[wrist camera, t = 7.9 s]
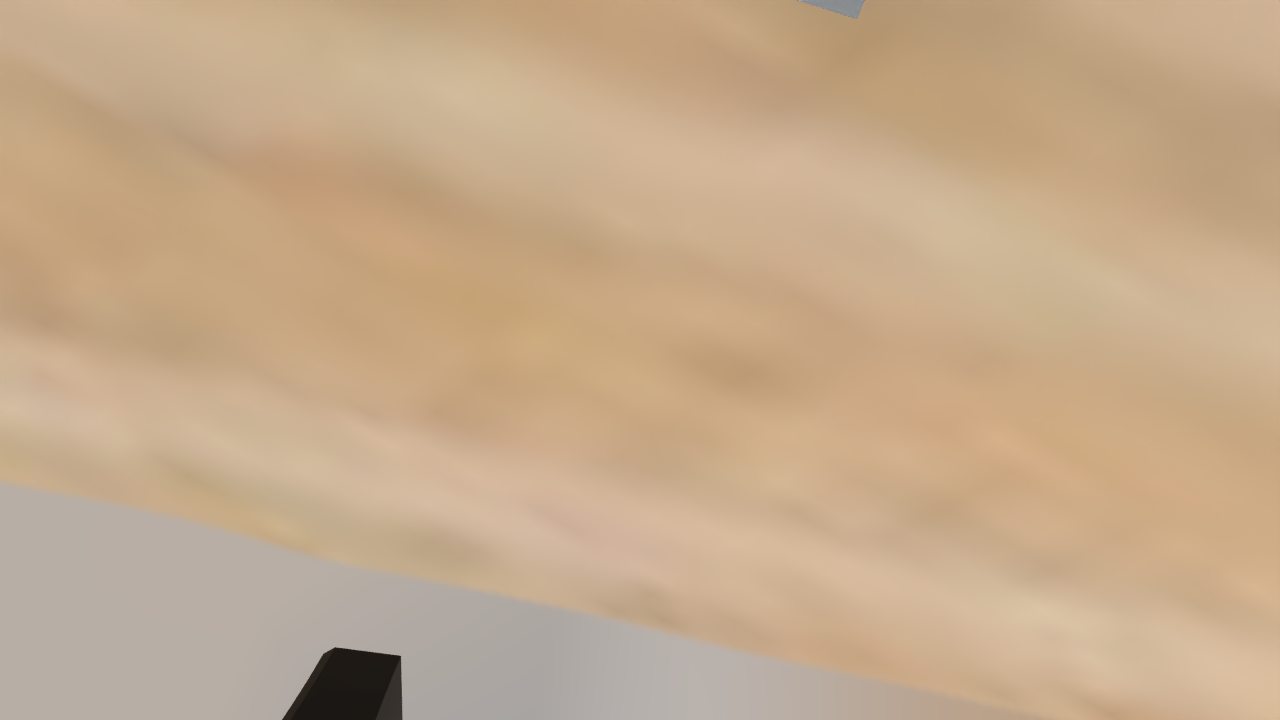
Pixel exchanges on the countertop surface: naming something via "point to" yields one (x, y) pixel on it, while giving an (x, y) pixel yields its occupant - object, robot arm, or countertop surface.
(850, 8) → the slate mat
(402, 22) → the countertop surface
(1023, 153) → the countertop surface
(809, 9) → the countertop surface
